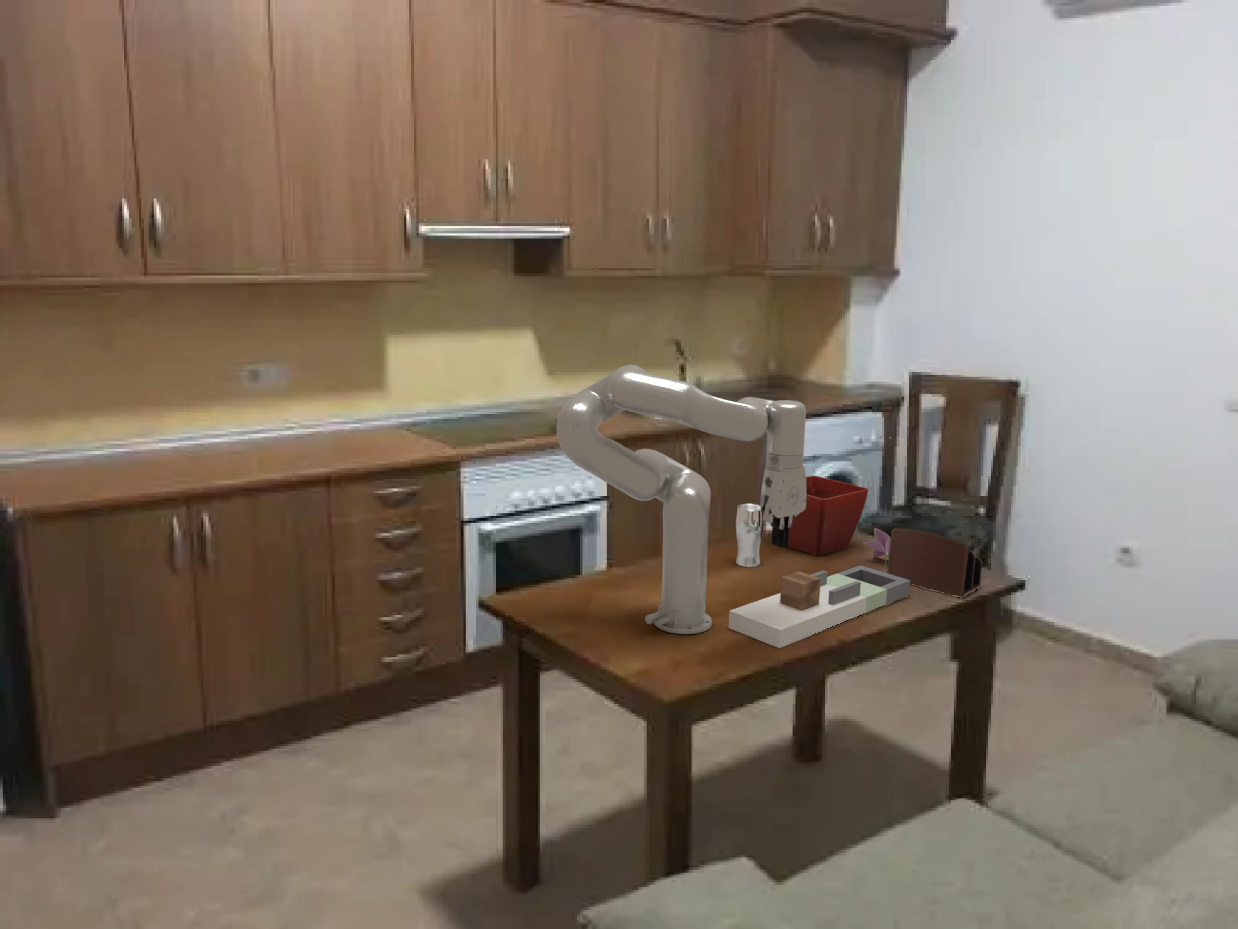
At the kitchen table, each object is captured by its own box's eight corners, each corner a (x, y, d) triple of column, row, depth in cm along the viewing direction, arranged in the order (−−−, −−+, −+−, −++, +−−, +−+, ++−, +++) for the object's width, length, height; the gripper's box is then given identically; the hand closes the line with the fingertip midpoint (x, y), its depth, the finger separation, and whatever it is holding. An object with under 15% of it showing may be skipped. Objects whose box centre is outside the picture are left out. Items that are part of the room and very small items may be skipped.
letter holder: (962, 600, 246) (968, 542, 243) (885, 579, 259) (890, 524, 256) (980, 589, 254) (986, 533, 250) (904, 570, 266) (909, 516, 263)
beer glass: (741, 557, 273) (743, 501, 270) (765, 562, 270) (768, 506, 266) (729, 564, 267) (732, 508, 264) (754, 569, 264) (757, 512, 260)
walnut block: (801, 610, 226) (803, 584, 225) (779, 603, 230) (781, 577, 229) (818, 604, 230) (820, 578, 229) (797, 597, 234) (798, 571, 233)
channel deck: (779, 648, 216) (781, 616, 215) (728, 628, 226) (730, 597, 225) (909, 596, 247) (911, 568, 246) (859, 580, 257) (861, 553, 256)
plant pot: (810, 532, 297) (813, 474, 293) (865, 549, 282) (870, 488, 278) (764, 544, 285) (767, 484, 281) (819, 562, 270) (824, 499, 266)
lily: (920, 572, 268) (920, 535, 270) (895, 563, 260) (896, 525, 263) (878, 575, 276) (879, 539, 279) (854, 567, 268) (854, 530, 271)
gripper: (775, 469, 210) (770, 557, 214) (821, 458, 219) (816, 542, 224) (746, 462, 215) (742, 548, 219) (793, 452, 225) (788, 534, 229)
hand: (779, 545), depth 221 cm, fingers closed
